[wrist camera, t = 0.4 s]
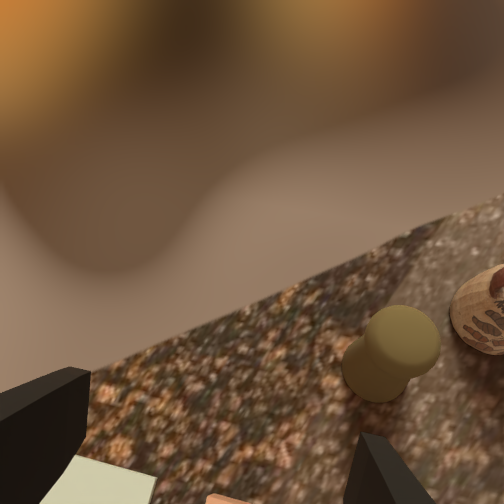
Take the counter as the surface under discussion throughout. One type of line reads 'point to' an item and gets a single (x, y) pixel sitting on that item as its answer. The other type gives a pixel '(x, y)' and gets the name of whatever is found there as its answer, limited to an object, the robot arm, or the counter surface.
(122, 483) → the baseplate
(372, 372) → the olive pawn piece
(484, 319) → the figurine
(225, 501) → the terracotta brick
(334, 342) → the counter surface
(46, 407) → the robot arm
